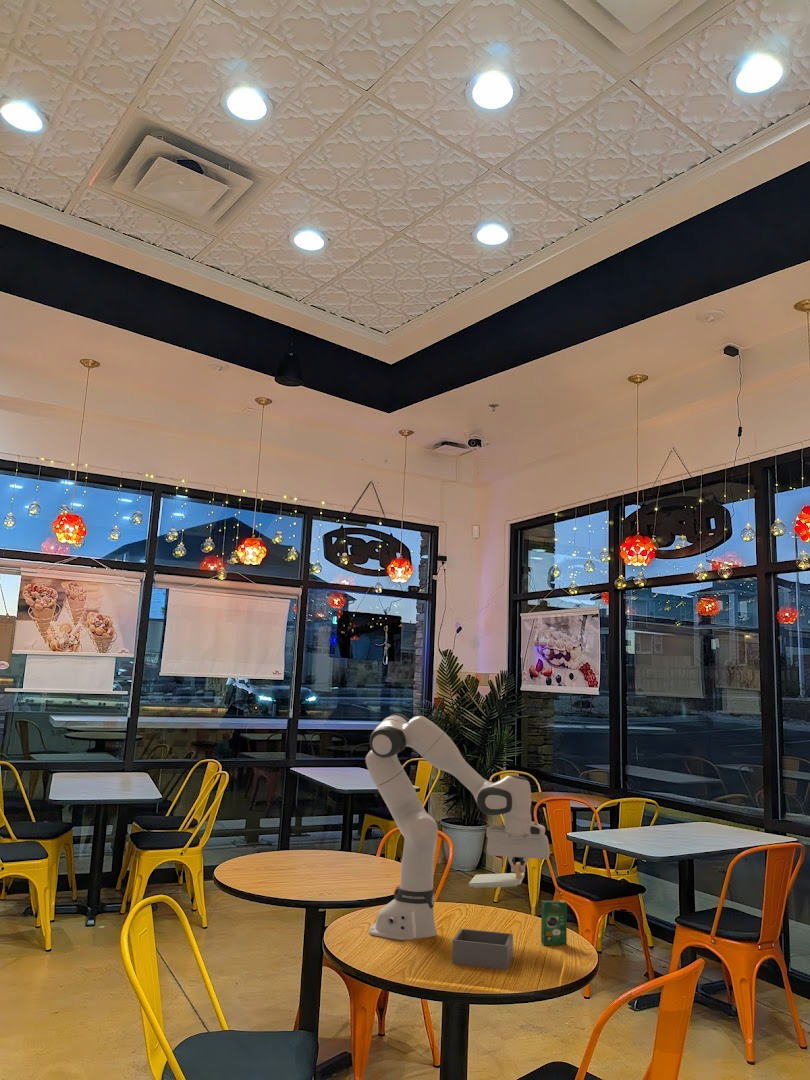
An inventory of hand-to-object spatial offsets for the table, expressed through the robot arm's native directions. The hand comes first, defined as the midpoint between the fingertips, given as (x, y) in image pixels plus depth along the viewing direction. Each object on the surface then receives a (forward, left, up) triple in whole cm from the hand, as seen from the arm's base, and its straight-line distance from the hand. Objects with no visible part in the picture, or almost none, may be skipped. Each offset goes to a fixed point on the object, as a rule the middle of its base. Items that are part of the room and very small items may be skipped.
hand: (518, 871), depth 250 cm
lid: (-7, 0, -3) cm, 8 cm away
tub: (-8, -19, -23) cm, 31 cm away
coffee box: (+11, +7, -23) cm, 26 cm away
